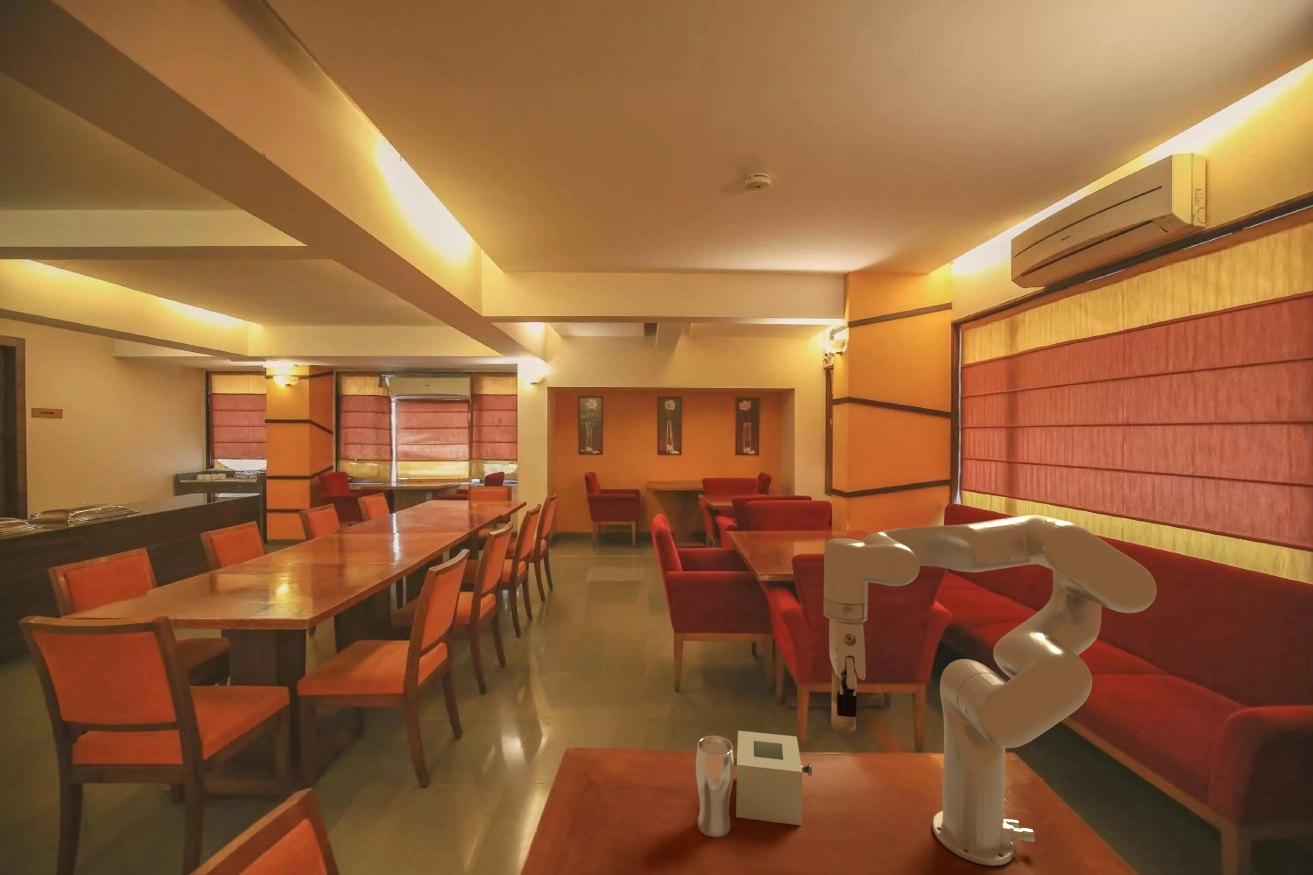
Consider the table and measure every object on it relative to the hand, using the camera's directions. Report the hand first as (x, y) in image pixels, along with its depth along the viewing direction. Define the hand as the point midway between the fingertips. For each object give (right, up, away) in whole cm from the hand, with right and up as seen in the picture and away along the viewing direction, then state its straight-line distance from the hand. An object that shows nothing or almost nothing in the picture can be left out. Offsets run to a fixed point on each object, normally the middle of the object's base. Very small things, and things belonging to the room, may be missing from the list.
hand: (844, 707), depth 99 cm
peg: (0, -3, 0) cm, 3 cm away
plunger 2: (-7, -17, +8) cm, 20 cm away
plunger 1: (-17, -17, +10) cm, 26 cm away
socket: (-12, -23, +9) cm, 27 cm away
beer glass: (-23, -23, +2) cm, 33 cm away
